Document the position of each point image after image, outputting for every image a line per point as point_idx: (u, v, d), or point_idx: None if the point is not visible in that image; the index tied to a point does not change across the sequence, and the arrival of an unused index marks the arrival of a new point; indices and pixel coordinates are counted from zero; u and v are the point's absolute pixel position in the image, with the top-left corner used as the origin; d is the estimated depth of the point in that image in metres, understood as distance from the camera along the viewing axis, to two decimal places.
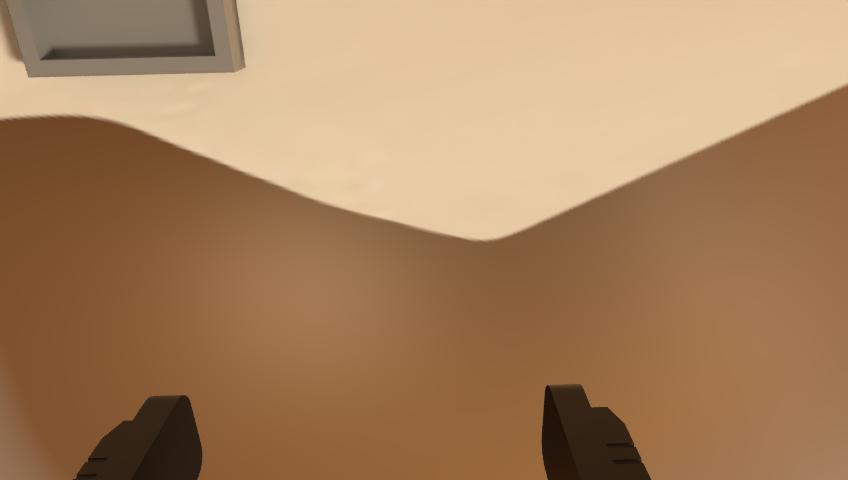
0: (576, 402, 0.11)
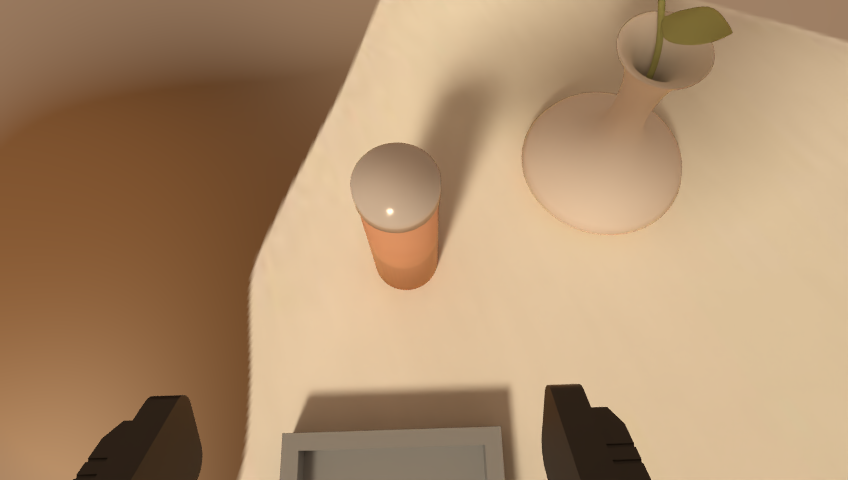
0: (576, 402, 0.11)
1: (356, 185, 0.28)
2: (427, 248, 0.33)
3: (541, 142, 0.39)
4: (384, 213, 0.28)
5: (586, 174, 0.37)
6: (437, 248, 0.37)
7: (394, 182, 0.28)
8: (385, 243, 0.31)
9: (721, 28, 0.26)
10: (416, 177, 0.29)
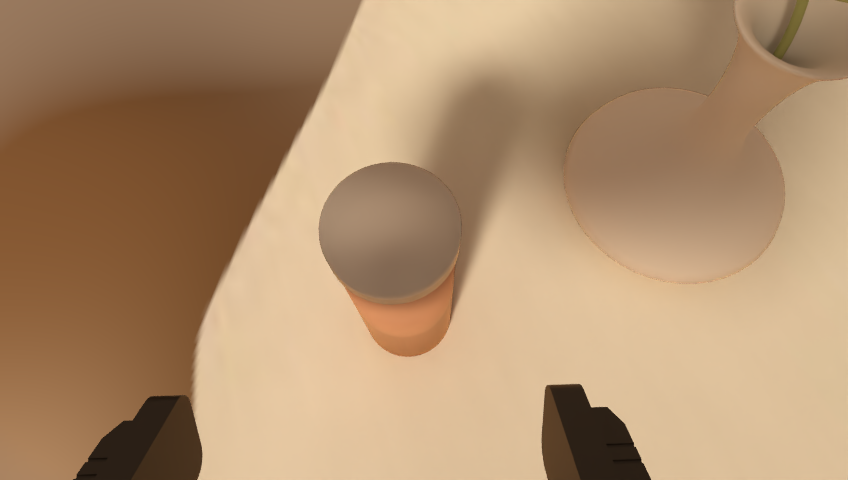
0: (576, 402, 0.11)
1: (328, 230, 0.18)
2: (438, 313, 0.23)
3: (592, 155, 0.29)
4: (371, 276, 0.17)
5: (659, 202, 0.27)
6: (451, 304, 0.26)
7: (388, 225, 0.18)
8: (375, 313, 0.20)
9: None
10: (422, 217, 0.18)
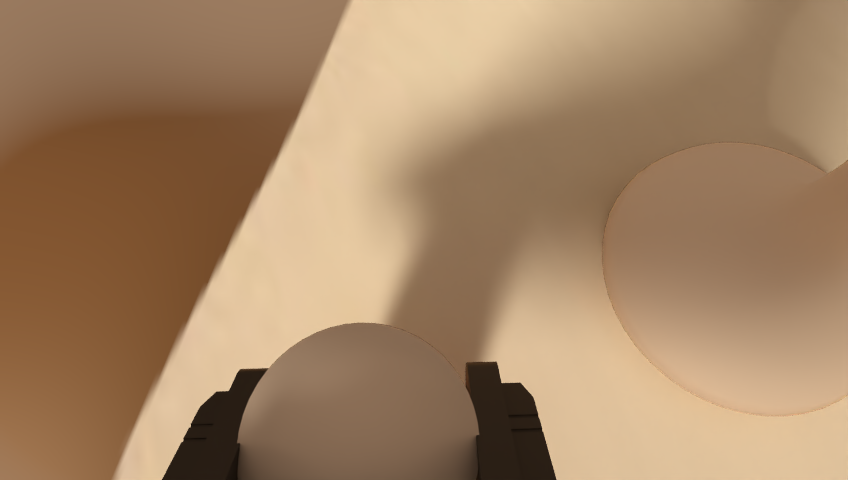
0: (488, 377, 0.12)
1: (252, 451, 0.11)
2: None
3: (644, 239, 0.21)
4: None
5: (743, 313, 0.19)
6: None
7: (354, 443, 0.11)
8: None
9: None
10: (413, 428, 0.11)
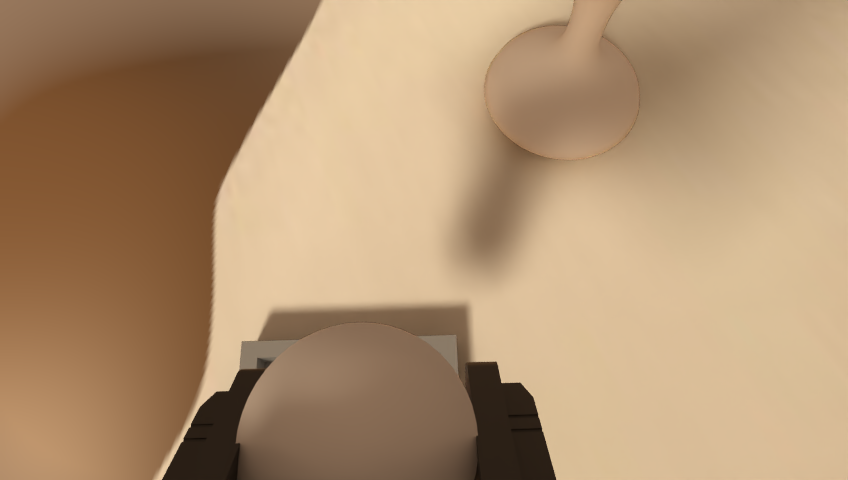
0: (488, 377, 0.12)
1: (251, 451, 0.11)
2: None
3: (502, 70, 0.40)
4: None
5: (544, 97, 0.38)
6: None
7: (353, 442, 0.11)
8: None
9: None
10: (412, 427, 0.11)
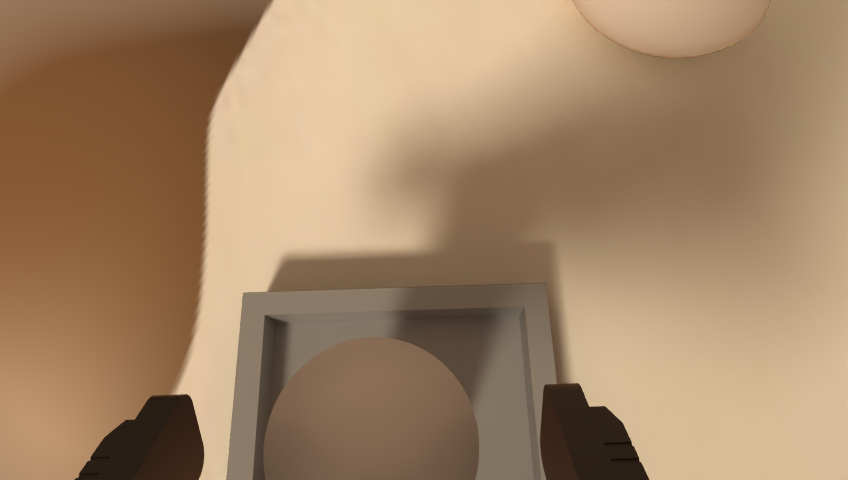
0: (574, 401, 0.11)
1: (277, 452, 0.12)
2: None
3: None
4: None
5: None
6: None
7: (368, 444, 0.12)
8: None
9: None
10: (420, 431, 0.12)
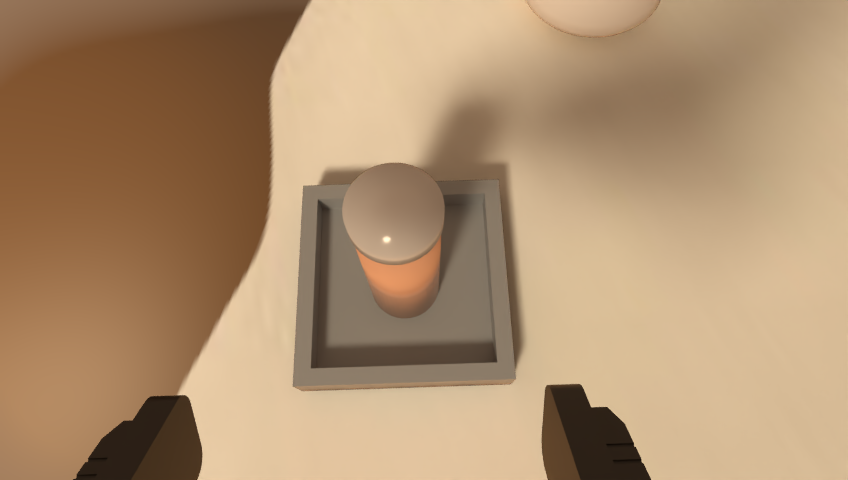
0: (576, 402, 0.11)
1: (349, 211, 0.25)
2: (428, 277, 0.30)
3: None
4: (380, 244, 0.25)
5: None
6: (439, 274, 0.33)
7: (392, 208, 0.25)
8: (381, 274, 0.28)
9: None
10: (416, 202, 0.25)
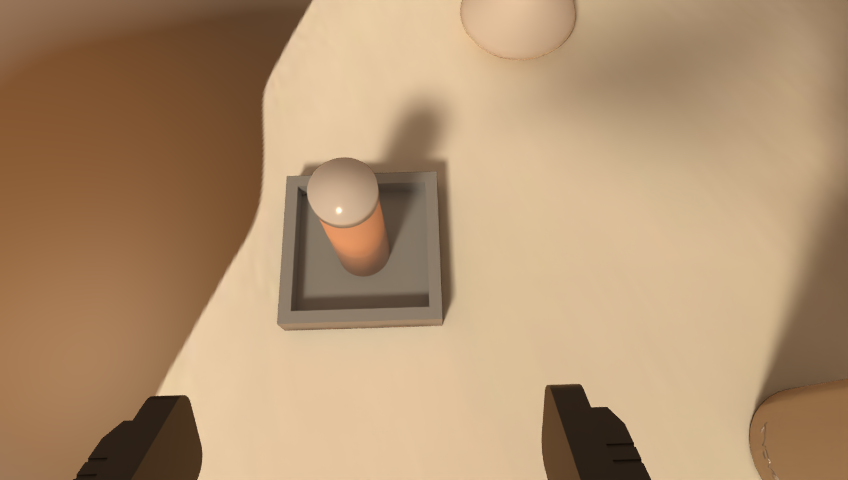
0: (576, 402, 0.11)
1: (311, 191, 0.37)
2: (373, 241, 0.41)
3: None
4: (332, 212, 0.36)
5: (501, 11, 0.52)
6: (386, 241, 0.45)
7: (341, 188, 0.37)
8: (337, 236, 0.39)
9: None
10: (358, 184, 0.37)
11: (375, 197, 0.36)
